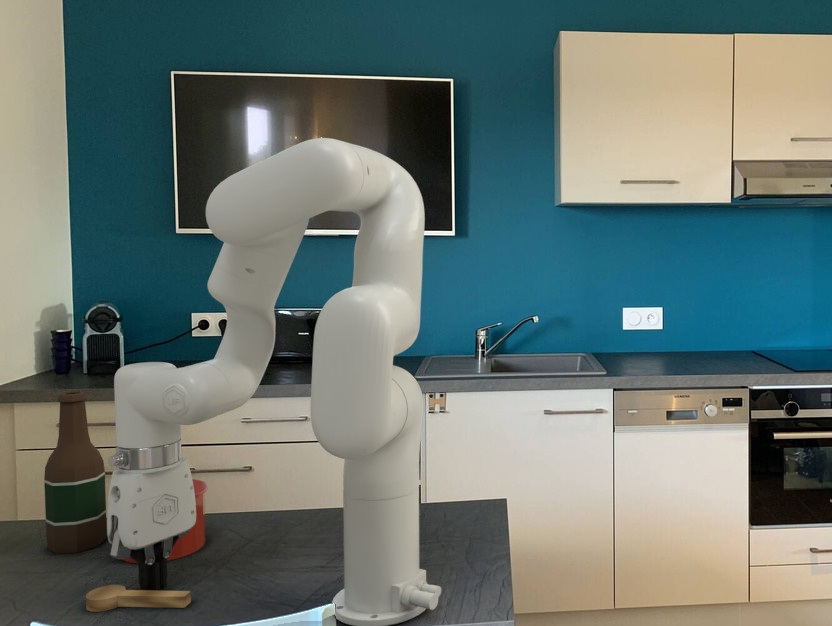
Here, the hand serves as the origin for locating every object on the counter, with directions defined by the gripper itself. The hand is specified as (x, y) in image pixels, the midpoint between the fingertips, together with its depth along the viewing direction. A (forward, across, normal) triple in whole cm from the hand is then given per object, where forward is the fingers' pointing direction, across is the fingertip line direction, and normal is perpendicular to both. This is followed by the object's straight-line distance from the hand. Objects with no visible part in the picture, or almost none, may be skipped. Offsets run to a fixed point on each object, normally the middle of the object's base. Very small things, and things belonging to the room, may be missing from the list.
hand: (153, 588), depth 105 cm
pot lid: (-8, +11, +12) cm, 18 cm away
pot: (0, +11, +13) cm, 16 cm away
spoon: (0, -4, -1) cm, 4 cm away
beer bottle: (+1, +6, +26) cm, 26 cm away
